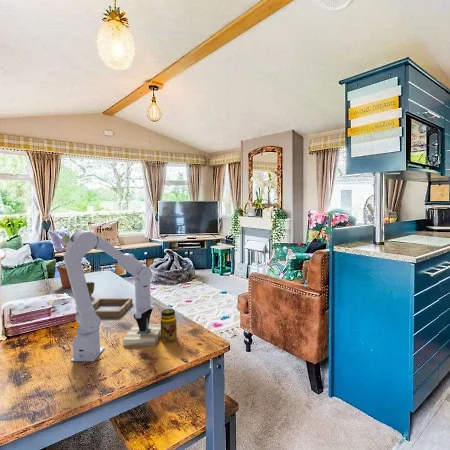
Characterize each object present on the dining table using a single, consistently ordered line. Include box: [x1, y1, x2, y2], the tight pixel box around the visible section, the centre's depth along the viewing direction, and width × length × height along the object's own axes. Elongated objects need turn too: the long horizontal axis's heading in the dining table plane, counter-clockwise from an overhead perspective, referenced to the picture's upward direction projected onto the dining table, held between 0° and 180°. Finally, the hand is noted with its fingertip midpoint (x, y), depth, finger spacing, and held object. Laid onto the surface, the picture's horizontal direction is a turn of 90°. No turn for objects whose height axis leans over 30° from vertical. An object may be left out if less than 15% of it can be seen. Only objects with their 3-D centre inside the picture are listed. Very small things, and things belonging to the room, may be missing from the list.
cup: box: [86, 281, 96, 298], centre depth 172 cm, size 8×7×8 cm
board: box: [122, 323, 161, 347], centre depth 123 cm, size 14×12×2 cm
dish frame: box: [92, 297, 134, 319], centre depth 152 cm, size 18×17×3 cm
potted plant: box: [57, 235, 71, 289], centre depth 195 cm, size 16×15×35 cm
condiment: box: [160, 308, 178, 344], centre depth 121 cm, size 7×8×12 cm
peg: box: [140, 319, 148, 334], centre depth 122 cm, size 4×4×8 cm
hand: (144, 328), depth 122 cm, fingers closed on peg, 3 cm apart
